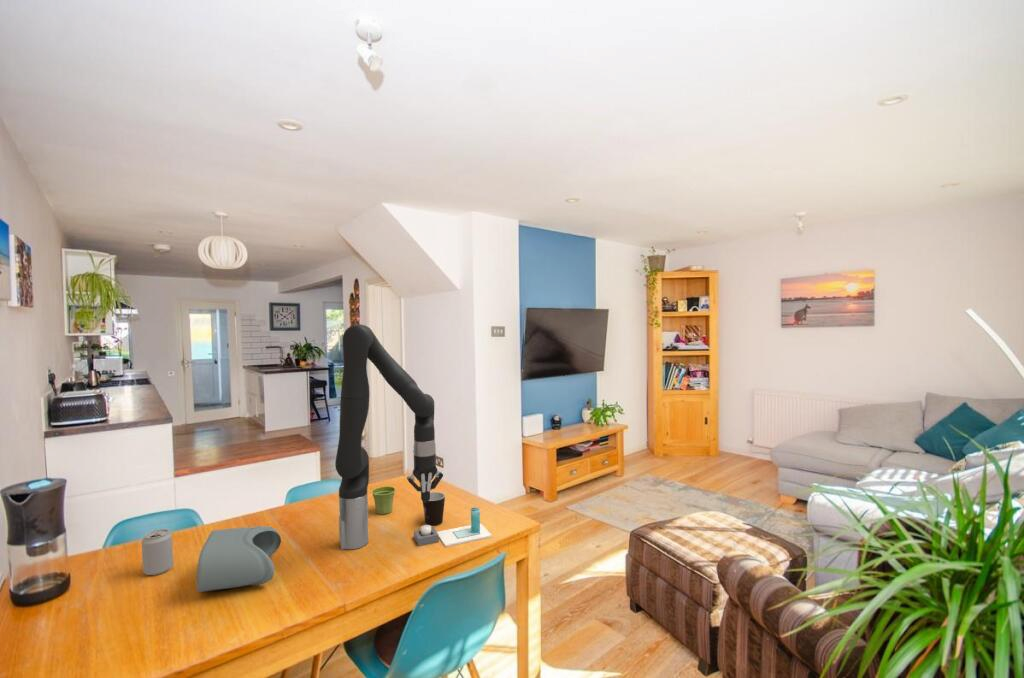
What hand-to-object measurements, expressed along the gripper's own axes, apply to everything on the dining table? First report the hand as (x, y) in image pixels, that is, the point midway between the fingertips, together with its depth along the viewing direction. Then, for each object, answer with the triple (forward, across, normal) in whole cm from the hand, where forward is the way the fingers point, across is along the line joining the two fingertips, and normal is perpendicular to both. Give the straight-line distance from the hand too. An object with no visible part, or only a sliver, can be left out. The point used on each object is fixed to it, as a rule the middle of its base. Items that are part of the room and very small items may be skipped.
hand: (425, 501), depth 166 cm
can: (+14, -80, +16) cm, 83 cm away
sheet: (+14, +13, -2) cm, 19 cm away
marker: (+13, +17, -2) cm, 22 cm away
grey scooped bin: (+14, -56, +1) cm, 58 cm away
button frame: (+14, 0, 0) cm, 14 cm away
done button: (+12, 0, 0) cm, 12 cm away
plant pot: (+14, -9, +31) cm, 35 cm away
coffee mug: (+14, +7, +14) cm, 21 cm away
